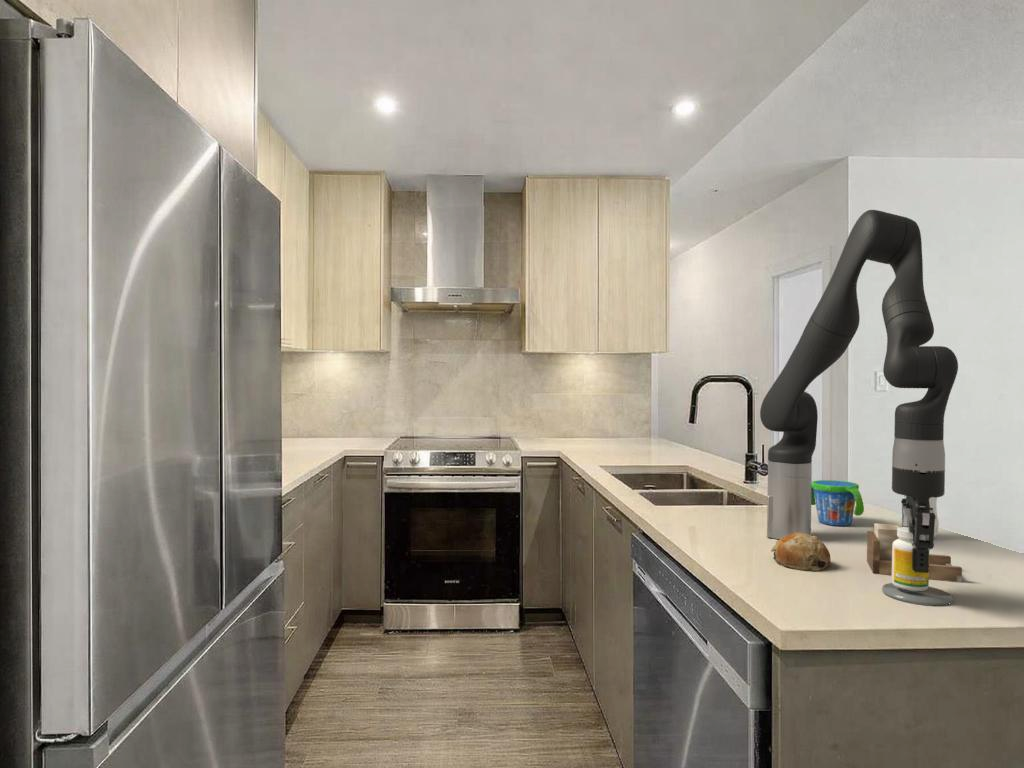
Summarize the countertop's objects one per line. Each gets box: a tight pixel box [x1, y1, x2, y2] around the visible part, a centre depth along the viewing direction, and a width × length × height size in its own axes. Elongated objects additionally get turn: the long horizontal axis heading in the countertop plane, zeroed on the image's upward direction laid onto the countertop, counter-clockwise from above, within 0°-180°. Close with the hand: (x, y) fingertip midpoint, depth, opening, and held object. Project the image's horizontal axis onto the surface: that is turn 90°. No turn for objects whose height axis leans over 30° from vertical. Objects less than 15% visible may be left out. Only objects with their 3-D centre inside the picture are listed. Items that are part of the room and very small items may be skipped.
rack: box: [866, 523, 963, 583], centre depth 125 cm, size 14×9×8 cm, turn 69°
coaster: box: [881, 582, 953, 606], centre depth 111 cm, size 10×10×1 cm
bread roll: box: [770, 532, 832, 572], centre depth 130 cm, size 10×10×8 cm
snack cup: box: [811, 479, 865, 527], centre depth 166 cm, size 16×10×10 cm
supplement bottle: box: [891, 526, 930, 591], centre depth 112 cm, size 5×5×10 cm
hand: (916, 566), depth 111 cm, fingers closed on supplement bottle, 5 cm apart
